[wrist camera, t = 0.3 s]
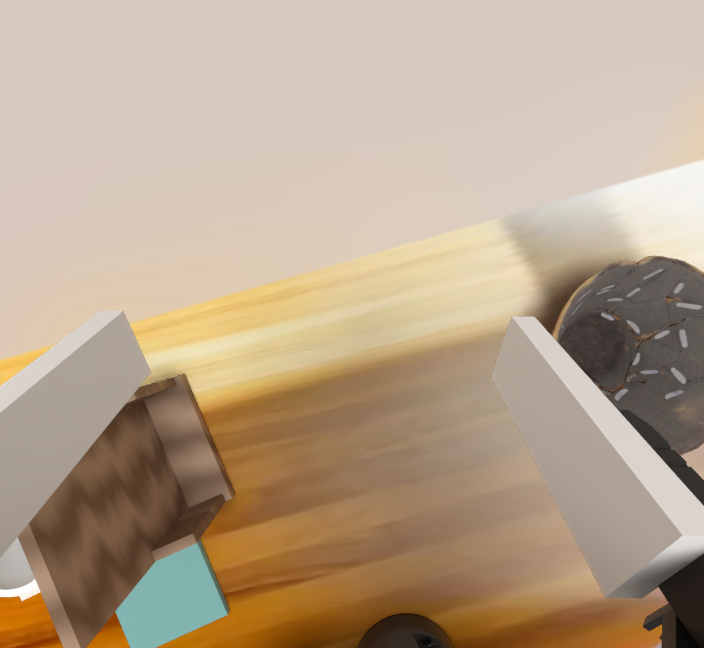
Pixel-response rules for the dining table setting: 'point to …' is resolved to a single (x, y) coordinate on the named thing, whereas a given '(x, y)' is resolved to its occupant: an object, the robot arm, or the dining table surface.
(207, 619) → the mat
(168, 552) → the wood grain panel
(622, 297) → the bowl
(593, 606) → the dining table surface
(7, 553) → the jar
